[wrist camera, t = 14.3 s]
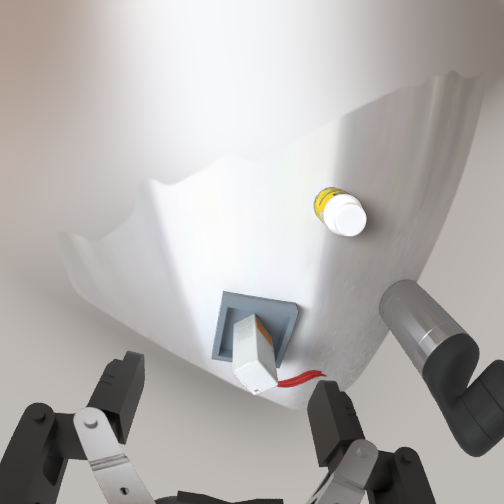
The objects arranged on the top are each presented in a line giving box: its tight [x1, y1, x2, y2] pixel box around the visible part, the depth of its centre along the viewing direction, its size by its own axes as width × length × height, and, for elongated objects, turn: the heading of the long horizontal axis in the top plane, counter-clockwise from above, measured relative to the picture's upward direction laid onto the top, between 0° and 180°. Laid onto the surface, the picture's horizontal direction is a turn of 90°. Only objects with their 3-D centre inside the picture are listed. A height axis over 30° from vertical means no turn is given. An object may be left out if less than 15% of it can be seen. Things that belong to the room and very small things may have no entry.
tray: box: [212, 291, 298, 368], centre depth 49 cm, size 12×12×3 cm
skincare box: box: [232, 314, 278, 395], centre depth 44 cm, size 6×4×12 cm
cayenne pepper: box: [277, 370, 326, 388], centre depth 55 cm, size 12×5×2 cm, turn 87°
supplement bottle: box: [314, 187, 366, 236], centre depth 39 cm, size 5×5×10 cm
